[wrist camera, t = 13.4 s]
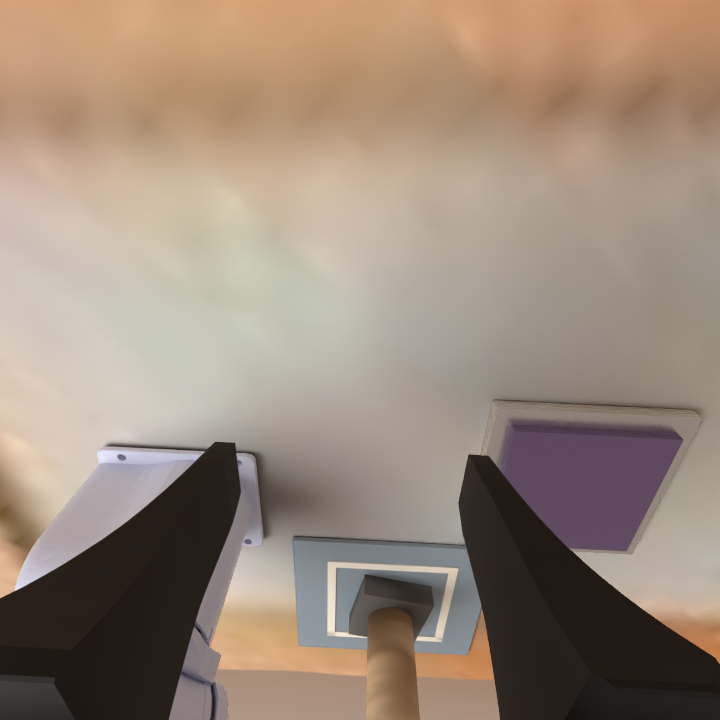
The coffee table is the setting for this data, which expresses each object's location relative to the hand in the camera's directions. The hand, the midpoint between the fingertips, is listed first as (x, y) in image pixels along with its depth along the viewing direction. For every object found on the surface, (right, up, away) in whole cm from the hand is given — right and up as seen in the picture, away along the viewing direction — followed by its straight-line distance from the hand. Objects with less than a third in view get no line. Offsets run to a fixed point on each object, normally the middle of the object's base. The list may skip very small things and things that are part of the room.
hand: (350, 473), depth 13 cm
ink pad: (+13, -4, +13) cm, 19 cm away
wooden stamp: (+2, -15, +19) cm, 24 cm away
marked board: (+2, -15, +19) cm, 24 cm away
